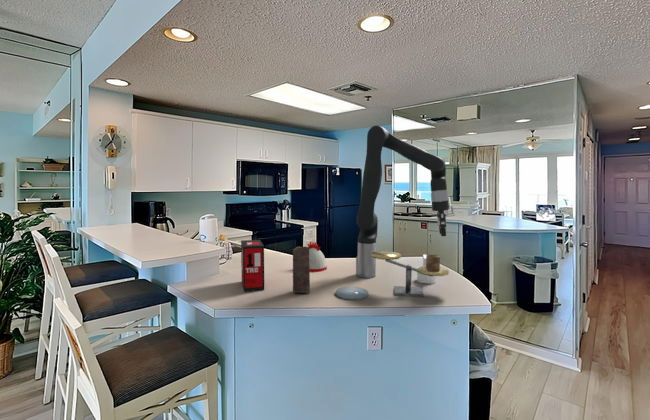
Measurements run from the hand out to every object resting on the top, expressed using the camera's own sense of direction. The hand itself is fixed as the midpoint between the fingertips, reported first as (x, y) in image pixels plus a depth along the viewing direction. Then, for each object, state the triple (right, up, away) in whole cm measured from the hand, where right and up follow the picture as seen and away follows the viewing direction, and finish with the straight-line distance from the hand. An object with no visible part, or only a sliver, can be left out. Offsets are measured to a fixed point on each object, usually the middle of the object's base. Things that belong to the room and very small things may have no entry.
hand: (442, 234), depth 163 cm
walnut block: (-9, -14, -13) cm, 21 cm away
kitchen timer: (-61, -21, +31) cm, 71 cm away
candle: (-65, -25, -10) cm, 70 cm away
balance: (-18, -24, -10) cm, 32 cm away
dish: (-43, -25, -13) cm, 51 cm away
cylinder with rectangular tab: (-5, -23, +8) cm, 25 cm away
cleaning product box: (-88, -24, -1) cm, 91 cm away
